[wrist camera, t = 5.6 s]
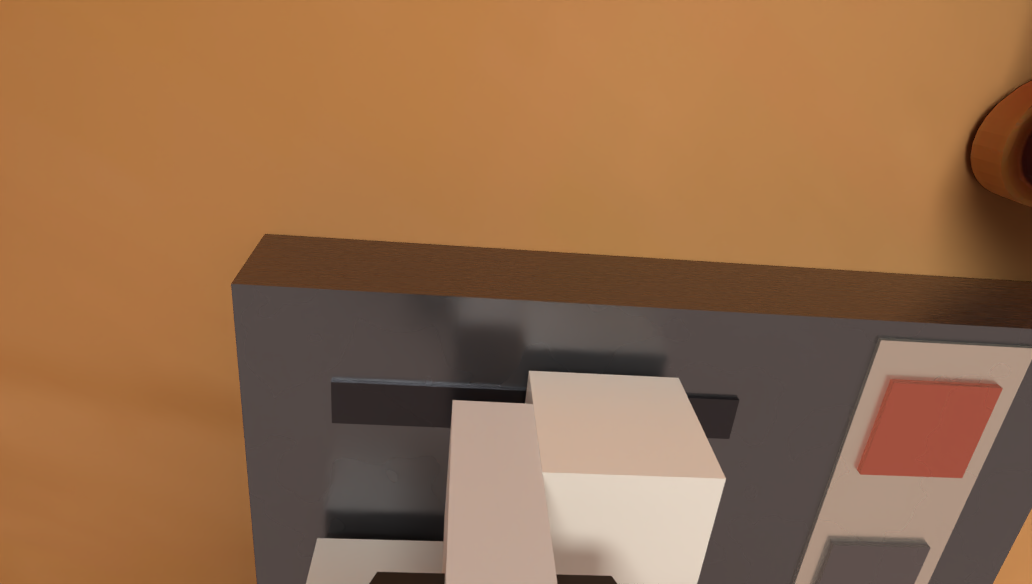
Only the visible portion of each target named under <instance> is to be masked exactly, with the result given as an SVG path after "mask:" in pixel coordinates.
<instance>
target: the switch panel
mask: <svg viewBox="0 0 1032 584" xmlns="http://www.w3.org/2000/svg"><path fill="white" fill-rule="evenodd" d="M231 287H232V299H233V310H234V322H235V333H236V345H237V357H238V368H239V380H240V391H241V403H242V415H243V426H244V438H245V449H246V461H247V472H248V484H249V496H250V507H251V519H252V530H253V542H254V554H255V565H256V577H257V584H306V581H307V577H308V573H309V569H310V565H311V561H312V557H313V553H314V549H315V545H316V541H317V538H332V539H370V540H409V541H443V540H444V517H445V502H446V487H447V473H448V459H449V444H450V430H451V416H452V402H453V400H461V401H482V402H502V403H523V404H525V399H526V391H527V382H528V374H529V371H546V372H567V373H588V374H609V375H630V376H651V377H672V378H679V380H680V382H681V384H682V386H683V388H684V390H685V392H686V395H687V397H688V399H689V401H690V403H691V405H692V407H693V409H694V412H695V414H696V416H697V418H698V420H699V422H700V424H701V427H702V429H703V431H704V433H705V435H706V437H707V439H708V441H709V444H710V446H711V448H712V450H713V452H714V454H715V456H716V459H717V461H718V463H719V465H720V467H721V469H722V471H723V473H724V476H725V478H726V481H725V484H724V488H723V491H722V495H721V499H720V502H719V506H718V510H717V513H716V517H715V521H714V524H713V528H712V532H711V535H710V539H709V542H708V546H707V550H706V553H705V557H704V561H703V564H702V568H701V572H700V575H699V579H698V582H697V584H993V582H994V580H995V578H996V576H997V574H998V572H999V570H1000V568H1001V566H1002V565H1003V563H1004V561H1005V559H1006V557H1007V555H1008V553H1009V551H1010V549H1011V547H1012V545H1013V543H1014V541H1015V539H1016V537H1017V536H1018V534H1019V532H1020V530H1021V528H1022V526H1023V524H1024V522H1025V520H1026V518H1027V516H1028V514H1029V512H1030V510H1031V508H1032V282H1023V281H1007V280H991V279H975V278H959V277H943V276H927V275H911V274H895V273H879V272H863V271H847V270H831V269H815V268H799V267H783V266H767V265H751V264H735V263H719V262H703V261H687V260H671V259H655V258H639V257H623V256H607V255H591V254H575V253H559V252H543V251H527V250H511V249H495V248H479V247H463V246H447V245H431V244H415V243H399V242H383V241H367V240H351V239H335V238H319V237H303V236H287V235H271V234H265V235H264V236H263V238H262V239H261V241H260V242H259V244H258V245H257V246H256V248H255V249H254V251H253V252H252V254H251V255H250V257H249V258H248V260H247V261H246V263H245V264H244V266H243V267H242V269H241V270H240V272H239V273H238V275H237V276H236V278H235V279H234V281H233V282H232V283H231Z"/></svg>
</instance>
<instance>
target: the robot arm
mask: <svg viewBox="0 0 1032 584" xmlns="http://www.w3.org/2000/svg"><path fill="white" fill-rule="evenodd" d="M369 584H617V583H616V581H615V580H614V578H613V577H612V576H600V575H562V574H556V569H555V562H554V554H553V547H552V540H551V532H550V525H549V517H548V510H547V503H546V495H545V488H544V480H543V474H542V468H541V461H540V453H539V446H538V438H537V431H536V424H535V416H534V409H533V404H523V403H502V402H482V401H461V400H453V402H452V416H451V430H450V444H449V459H448V473H447V487H446V502H445V517H444V540H443V562H442V573H408V572H377V573H376V574H375V576H374V577H373V579H372V580H371V582H370V583H369Z"/></svg>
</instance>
